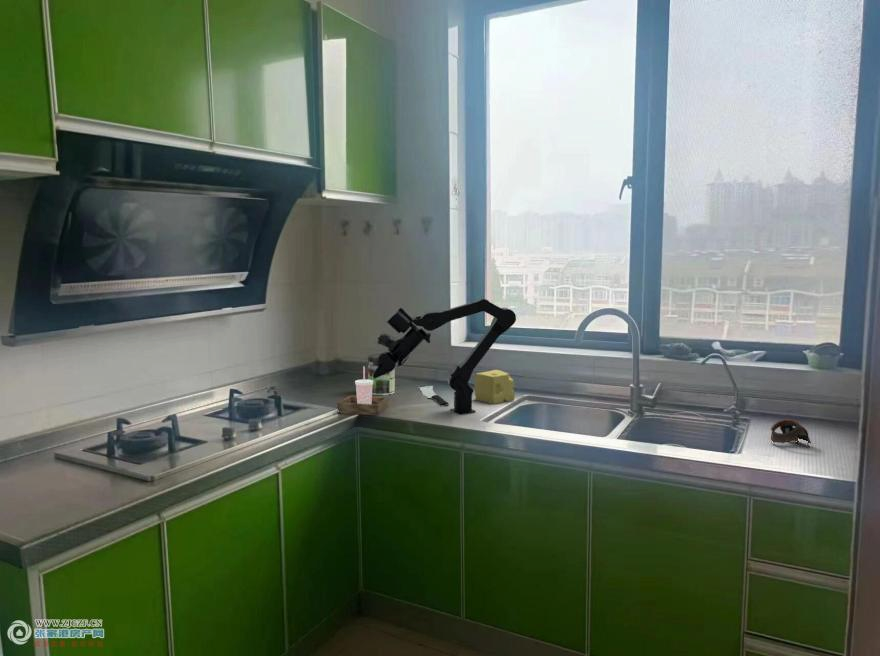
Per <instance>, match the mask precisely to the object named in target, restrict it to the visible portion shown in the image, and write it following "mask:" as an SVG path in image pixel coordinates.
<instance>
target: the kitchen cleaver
mask: <svg viewBox="0 0 880 656" xmlns="http://www.w3.org/2000/svg"><path fill="white" fill-rule="evenodd" d="M419 388H420V390H421V391H422V393H423V395H425V396H427V397H428V398H431V399H430V400H432V399H434V400H435V401H434V400H433V401H434V402H436V403H437V404H438V405H439V407H442V406H444V407H449V402H448V401H447V400H445V399H444V398H442V397H441V395H438V394H436V392H435V391H434V389H433V388H434V386H433V385H427V386H423V387H422V386H421V387H419Z"/></svg>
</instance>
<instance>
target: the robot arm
mask: <svg viewBox="0 0 880 656" xmlns="http://www.w3.org/2000/svg"><path fill="white" fill-rule="evenodd" d="M482 312H484V313H486V314H488V315H489V316H491V317H493V318H492V320H491V323H490V325H489V328H488V329H487V330H486V332H485V333H484V335H483V336H482V337H481V338H480V339H479V341H478V342H477V343H476V344H475V346H474V347H473V349H472V350H471V352H470V353H469V354H468V355H467V357H465V359H464V360H463V362H461V363H460V364H458V363H457V362H455V363H454V365H453V366H452V368H451V369H450V370H448V375H447V383H448V385H449V387H450V388H451V389H452V390H453V391H454V392H453V408H450V409H449V411H450V412H453V413H454V414H458V415H464V414H465V415H466V414H472V413H476V410H475V409H473V402H472V401H473V393H474V389H473V387H472V386H471V384H470V383H469V381H470V379H471V378H472V374H473V372H474V370H475V368H476V367H477V366H478V364H479V363H480V362H481V360H483V358H484V357H485V355H486V354H487V353H488V352H489V350H490V349H491V348H492V346H493V345H494V343H495V342H496V341H497V339H498V338H499V337H500V336H502V335H503V334H504V333H506V332H507V331H508V330H510V328H511V327H512V326H514V324H515V322H516V321H517V315H516V313H515V311H514V310H512V309H509V308H507V307H500V306H498V305H496V304H494V303H493V302H490V301H489V299H486V298H483V297H482V298H480V299H477V300H475V301H471V302H469V303H465V304H462V305H457V306H455V307H454V306H453V307H451V308H447V309H441V310H431V311H425V312H424V313H422V314H421V315H419V316H414V317H412V316H410V315H409V313H408V312H406V311H405V309H404V308H402V307H399V308H398V309H397V310H396V311H395V312H393V313H392V314H391V315H390V316H389V317H388V319H387V320H386V323H387V324H388V325H389V326H390V327H391V328H392V329H393V330H395V331H396V332H397V334H401V333H402V334H404V333H405V334H404V335H403V336H402V337H400V338H398V339H397V338H396V337H395V336H393V335H390V334H388V333H387V332H383V333H381V334H380V335H379V337H377V344H378V345H381V346H384V347H386V348H388V349H387V351H384V352H382V353H380V354H381V355H380V356H379V357H378V360H379V366H378V367H377V369H376V371H375V373H374V374H373V378H374V379H375V378H377V377H380V376H382V375H384V374H387V373H389V372H391V371H393V370H394V369H395V370H396V368H397V367H400V366H402V365H404V364H405V363H406V362H408V361H409V360H410V355H411V354H412V353H413V352H415V351H416V349H417V348H418V347H419V346H420V344H422V343H423V342H424V341H425V342H426V343H428V344H430V343H431V340H432V338H431V336H432V333H431V331H435V330H436V329H439V328H440V327H443V326H444V325H445V324H447V323H450V322H452V321H455V320H458V319H461V318H462V319H463V318H465V317H468V316H471V315H475V314H478V313H482ZM425 330H426V331H425ZM427 331H429V332H430V333H429V332H427Z"/></svg>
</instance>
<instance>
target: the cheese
mask: <svg viewBox="0 0 880 656" xmlns="http://www.w3.org/2000/svg"><path fill="white" fill-rule="evenodd" d="M514 381H515V380H514V379H513V378H512V377H511V375H510V374H509V373H508V372H505V371H503V370H499V369H492V370H489V371H484V372H483V371H482V372H477V373H475V378H474V396H475V400H478V401H480V400H481V402H485V403H489V404H492V405H496V404H500V403H503V402H506V403H507V401H508V402H513V401H512V400H514V401H515V397H516V394H515V390H514V387H515V382H514Z"/></svg>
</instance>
